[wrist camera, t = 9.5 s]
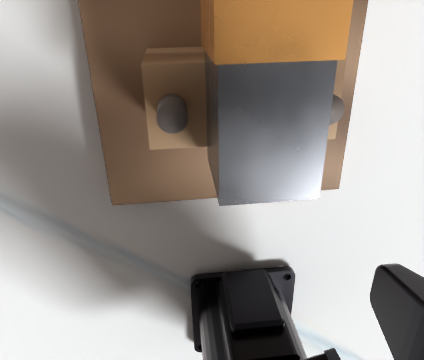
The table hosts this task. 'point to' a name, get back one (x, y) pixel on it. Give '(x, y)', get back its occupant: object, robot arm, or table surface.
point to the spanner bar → (270, 94)
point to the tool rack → (175, 98)
